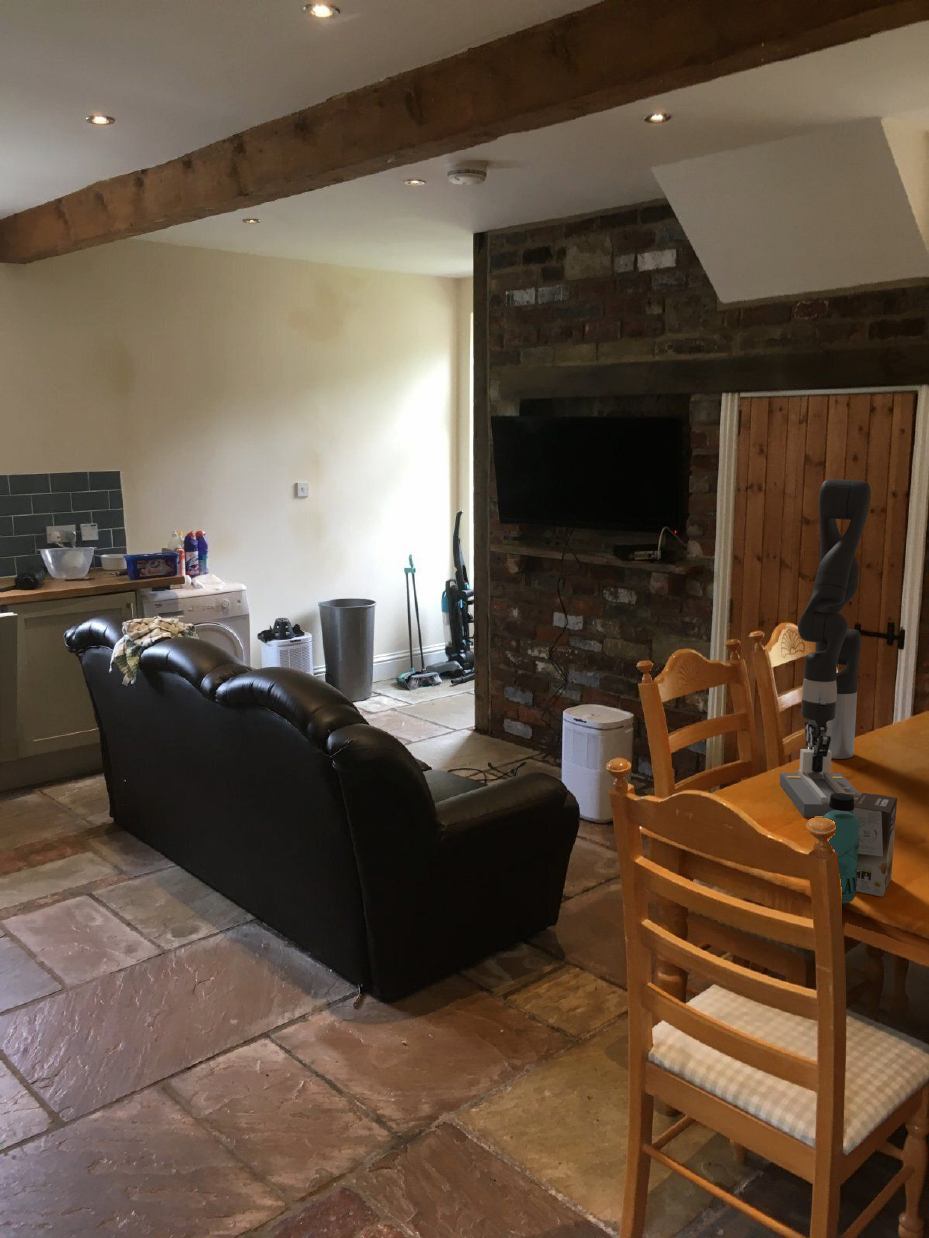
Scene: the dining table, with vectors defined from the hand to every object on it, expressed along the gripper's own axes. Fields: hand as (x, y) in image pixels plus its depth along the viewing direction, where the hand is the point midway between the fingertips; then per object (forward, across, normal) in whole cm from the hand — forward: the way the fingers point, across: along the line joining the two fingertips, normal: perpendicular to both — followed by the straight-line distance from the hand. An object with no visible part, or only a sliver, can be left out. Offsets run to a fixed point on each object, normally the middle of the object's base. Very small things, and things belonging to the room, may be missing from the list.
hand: (815, 769), depth 233 cm
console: (+5, +7, 0) cm, 9 cm away
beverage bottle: (+5, +59, -12) cm, 61 cm away
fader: (+2, 0, 0) cm, 2 cm away
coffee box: (+5, +51, -4) cm, 51 cm away
